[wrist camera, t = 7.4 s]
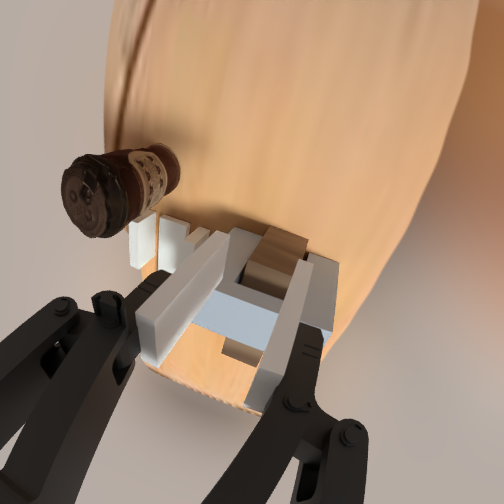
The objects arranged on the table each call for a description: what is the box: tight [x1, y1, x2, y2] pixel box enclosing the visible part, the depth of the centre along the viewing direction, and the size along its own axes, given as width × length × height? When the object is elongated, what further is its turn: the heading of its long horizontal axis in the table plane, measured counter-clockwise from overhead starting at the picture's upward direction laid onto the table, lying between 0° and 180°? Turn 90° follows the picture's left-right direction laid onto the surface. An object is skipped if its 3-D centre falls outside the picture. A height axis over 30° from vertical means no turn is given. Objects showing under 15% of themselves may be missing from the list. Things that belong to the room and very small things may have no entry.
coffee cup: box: [61, 144, 180, 238], centre depth 26 cm, size 9×8×13 cm
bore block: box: [192, 227, 339, 352], centre depth 28 cm, size 5×13×11 cm, turn 77°
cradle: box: [129, 209, 210, 274], centre depth 36 cm, size 13×10×4 cm
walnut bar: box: [221, 225, 308, 367], centre depth 31 cm, size 14×4×8 cm, turn 165°
